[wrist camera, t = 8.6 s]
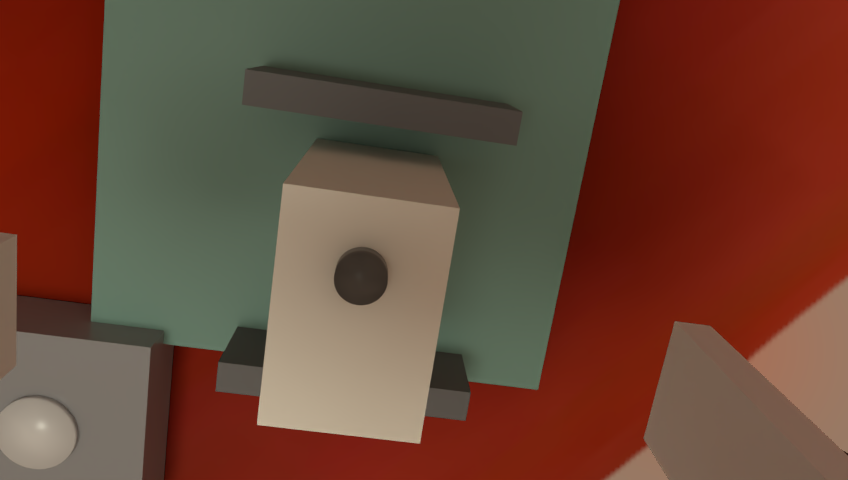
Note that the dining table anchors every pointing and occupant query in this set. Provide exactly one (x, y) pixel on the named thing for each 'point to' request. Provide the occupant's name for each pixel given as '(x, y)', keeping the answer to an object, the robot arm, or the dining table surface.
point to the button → (83, 397)
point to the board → (351, 123)
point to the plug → (357, 292)
